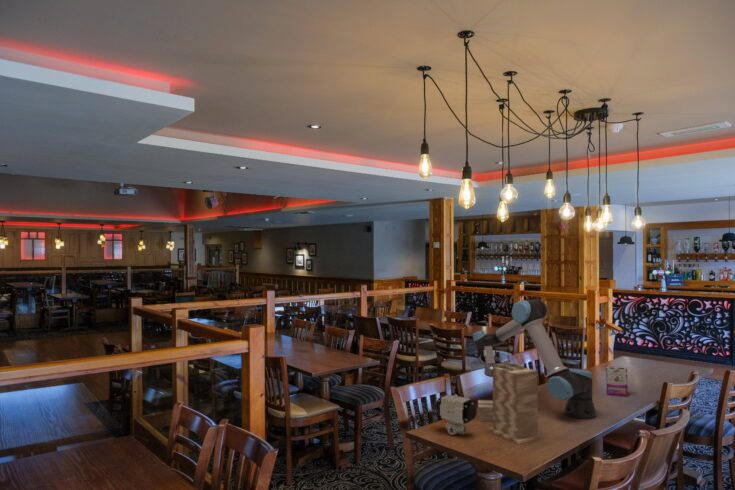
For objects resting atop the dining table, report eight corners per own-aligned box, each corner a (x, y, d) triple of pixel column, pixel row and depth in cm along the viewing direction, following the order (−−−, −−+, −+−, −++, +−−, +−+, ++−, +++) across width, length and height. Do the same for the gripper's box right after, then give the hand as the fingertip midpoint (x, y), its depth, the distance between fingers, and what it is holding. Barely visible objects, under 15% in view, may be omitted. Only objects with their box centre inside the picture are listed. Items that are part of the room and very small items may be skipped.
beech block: (478, 412, 265) (478, 399, 266) (497, 413, 263) (497, 400, 264) (478, 420, 252) (478, 407, 252) (499, 421, 250) (499, 408, 250)
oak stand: (488, 430, 237) (488, 363, 238) (512, 425, 244) (511, 360, 245) (518, 444, 221) (517, 371, 221) (542, 437, 228) (542, 368, 228)
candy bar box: (626, 394, 297) (626, 366, 298) (627, 396, 293) (627, 368, 293) (606, 392, 302) (605, 365, 302) (606, 394, 297) (606, 367, 297)
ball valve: (434, 431, 237) (433, 393, 237) (443, 426, 243) (443, 389, 244) (468, 440, 225) (467, 400, 226) (477, 435, 232) (476, 396, 232)
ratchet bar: (481, 352, 275) (481, 346, 275) (494, 353, 274) (494, 346, 273) (484, 376, 249) (485, 369, 248) (499, 377, 248) (499, 369, 247)
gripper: (502, 363, 284) (506, 360, 262) (471, 362, 287) (473, 359, 265) (501, 350, 286) (506, 346, 264) (471, 349, 289) (472, 345, 267)
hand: (489, 352), depth 265 cm, fingers closed on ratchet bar, 4 cm apart
